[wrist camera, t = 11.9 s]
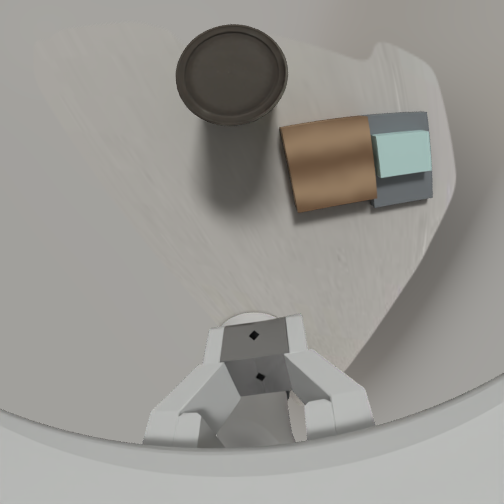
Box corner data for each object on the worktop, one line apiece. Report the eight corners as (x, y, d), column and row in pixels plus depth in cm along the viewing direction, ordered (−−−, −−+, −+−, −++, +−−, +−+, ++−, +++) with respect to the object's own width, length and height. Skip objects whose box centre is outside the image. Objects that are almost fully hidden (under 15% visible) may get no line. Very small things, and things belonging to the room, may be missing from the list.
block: (425, 167, 37) (431, 170, 35) (375, 174, 38) (381, 178, 37) (421, 129, 35) (428, 131, 33) (370, 134, 36) (375, 136, 34)
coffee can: (209, 128, 37) (186, 136, 25) (196, 61, 33) (167, 38, 20) (283, 115, 36) (296, 116, 24) (270, 47, 32) (277, 16, 19)
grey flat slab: (428, 194, 41) (432, 197, 39) (371, 204, 42) (374, 207, 41) (422, 111, 35) (426, 112, 33) (360, 115, 36) (363, 115, 34)
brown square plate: (370, 192, 41) (377, 198, 39) (295, 206, 43) (298, 212, 40) (360, 115, 36) (367, 116, 33) (279, 127, 37) (281, 128, 35)
